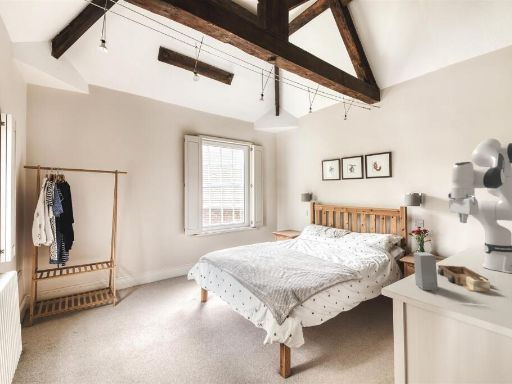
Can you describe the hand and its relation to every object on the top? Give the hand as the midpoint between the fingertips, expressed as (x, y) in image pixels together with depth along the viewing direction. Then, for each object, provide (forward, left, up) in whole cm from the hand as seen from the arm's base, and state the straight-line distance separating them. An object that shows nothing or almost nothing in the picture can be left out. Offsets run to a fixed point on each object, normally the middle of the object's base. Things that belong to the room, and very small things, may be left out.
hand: (463, 222), depth 127 cm
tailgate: (0, +9, -28) cm, 30 cm away
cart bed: (0, -3, -29) cm, 29 cm away
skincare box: (+21, +13, -29) cm, 38 cm away
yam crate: (0, +12, -28) cm, 31 cm away
